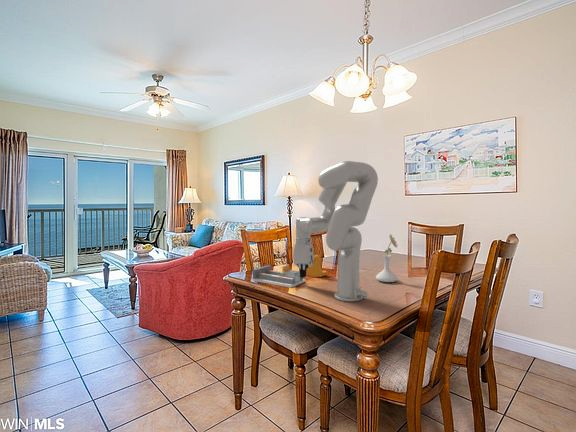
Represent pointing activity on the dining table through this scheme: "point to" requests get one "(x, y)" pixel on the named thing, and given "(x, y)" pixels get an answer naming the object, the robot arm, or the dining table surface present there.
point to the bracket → (316, 268)
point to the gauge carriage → (290, 273)
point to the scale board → (273, 277)
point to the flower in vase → (387, 266)
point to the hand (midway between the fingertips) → (303, 276)
